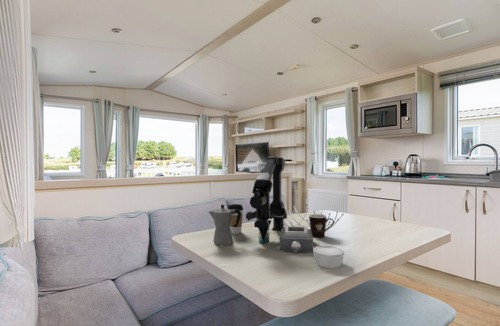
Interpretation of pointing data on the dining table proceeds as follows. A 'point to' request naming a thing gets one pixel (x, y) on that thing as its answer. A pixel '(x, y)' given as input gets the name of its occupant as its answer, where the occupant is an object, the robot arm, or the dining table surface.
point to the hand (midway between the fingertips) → (264, 237)
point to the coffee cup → (234, 217)
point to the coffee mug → (318, 225)
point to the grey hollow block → (296, 239)
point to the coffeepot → (224, 225)
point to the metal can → (265, 238)
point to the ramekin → (328, 256)
